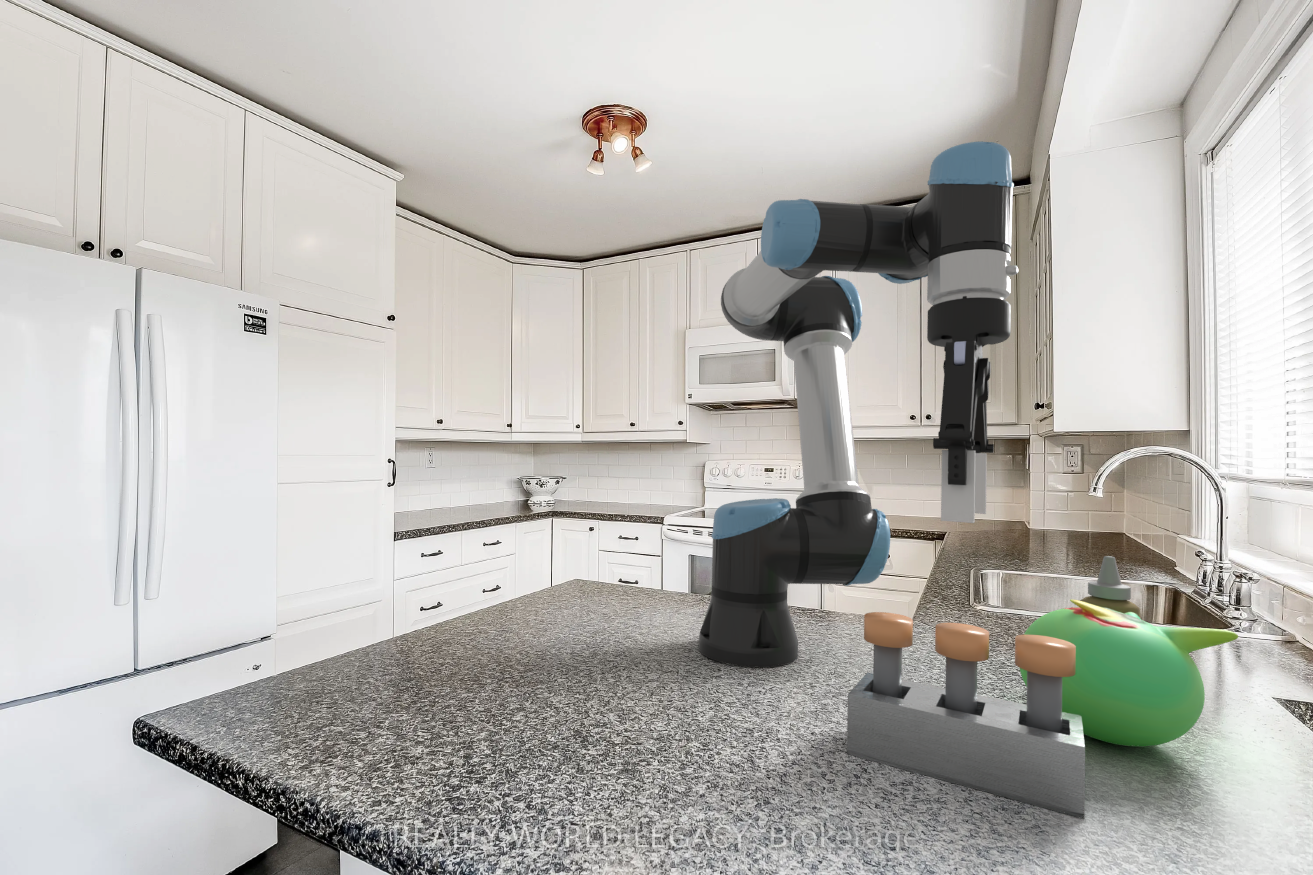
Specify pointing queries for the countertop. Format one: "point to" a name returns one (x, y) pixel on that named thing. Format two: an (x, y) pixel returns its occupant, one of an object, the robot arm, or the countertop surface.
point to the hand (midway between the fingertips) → (965, 517)
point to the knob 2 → (1045, 677)
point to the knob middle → (961, 662)
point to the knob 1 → (888, 649)
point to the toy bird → (1129, 673)
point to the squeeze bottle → (1110, 590)
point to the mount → (970, 744)
